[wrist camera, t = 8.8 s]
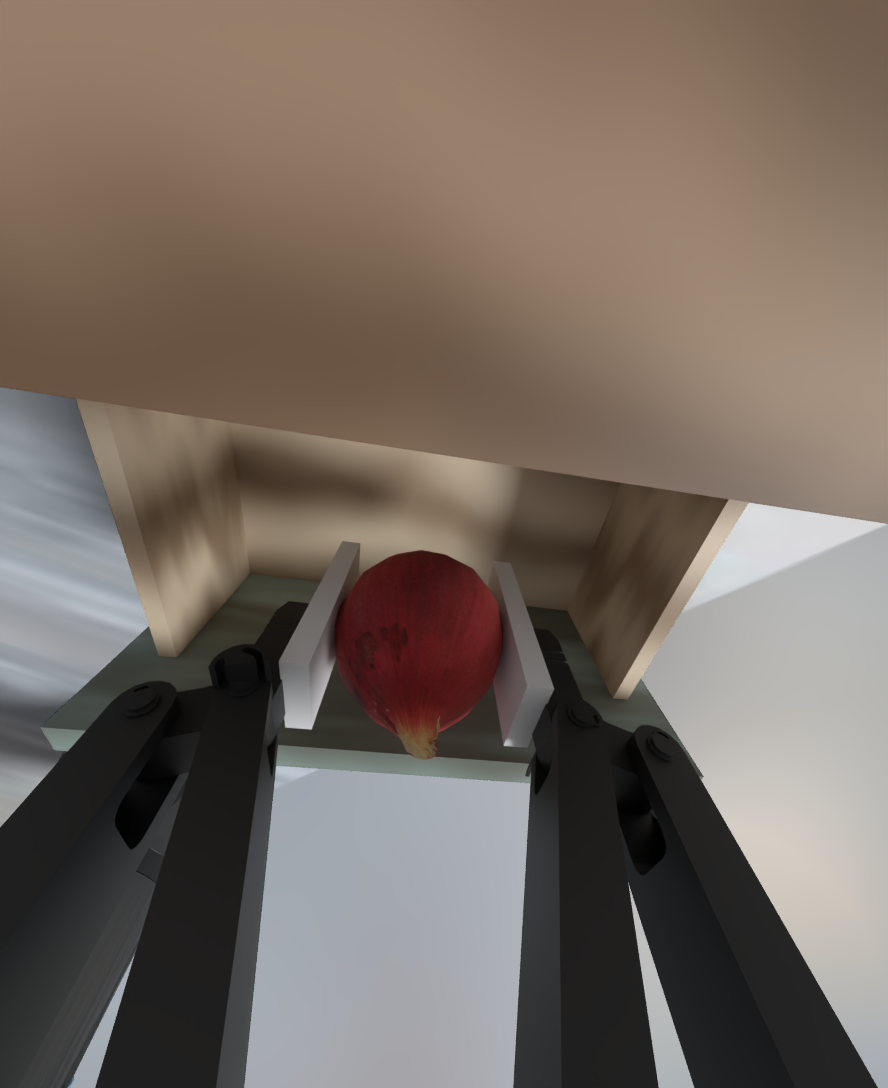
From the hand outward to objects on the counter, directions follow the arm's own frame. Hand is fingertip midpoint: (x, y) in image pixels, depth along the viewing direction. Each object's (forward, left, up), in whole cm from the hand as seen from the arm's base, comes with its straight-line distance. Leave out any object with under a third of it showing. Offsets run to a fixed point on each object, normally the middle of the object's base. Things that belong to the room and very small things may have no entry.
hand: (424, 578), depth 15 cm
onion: (0, 0, 0) cm, 0 cm away
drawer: (0, 0, -7) cm, 7 cm away
